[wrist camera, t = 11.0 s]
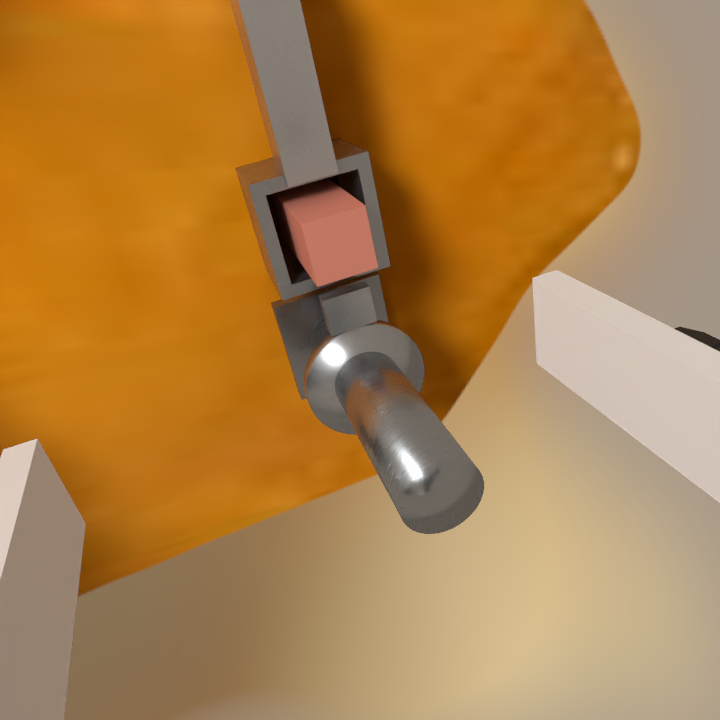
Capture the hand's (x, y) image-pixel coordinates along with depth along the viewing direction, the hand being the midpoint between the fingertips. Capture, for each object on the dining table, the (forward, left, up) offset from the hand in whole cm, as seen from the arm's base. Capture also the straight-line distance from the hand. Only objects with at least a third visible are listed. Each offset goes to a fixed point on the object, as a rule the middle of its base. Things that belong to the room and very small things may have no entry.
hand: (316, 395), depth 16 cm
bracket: (+5, +4, -28) cm, 28 cm away
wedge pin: (+5, -2, -28) cm, 28 cm away
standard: (+5, -11, -27) cm, 30 cm away
